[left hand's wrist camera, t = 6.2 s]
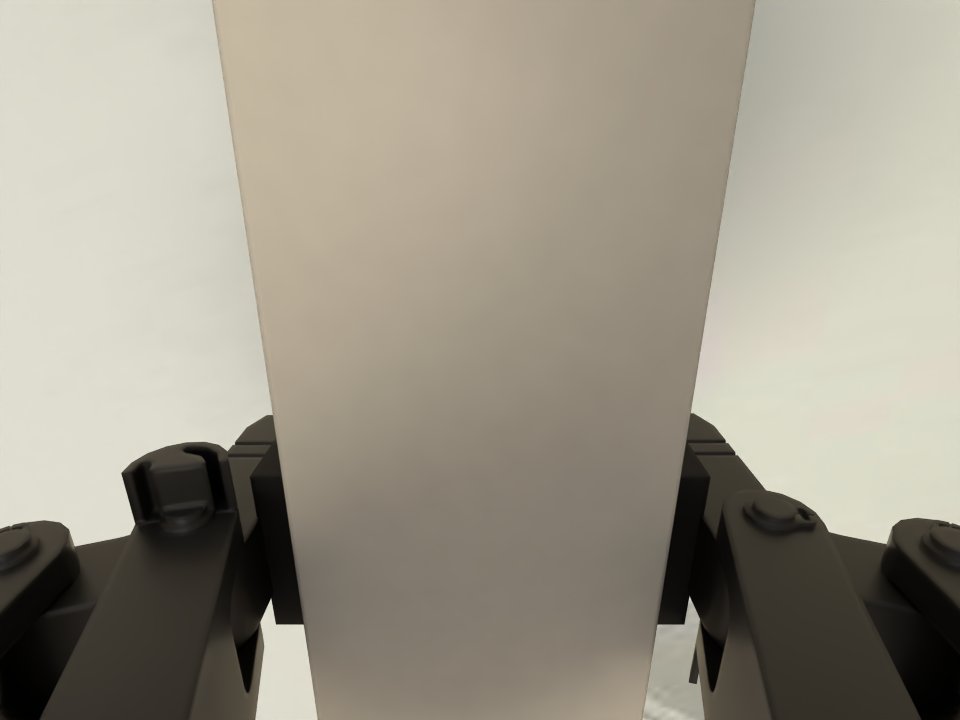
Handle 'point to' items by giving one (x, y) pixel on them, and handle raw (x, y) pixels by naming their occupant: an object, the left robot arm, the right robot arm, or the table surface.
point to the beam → (482, 329)
